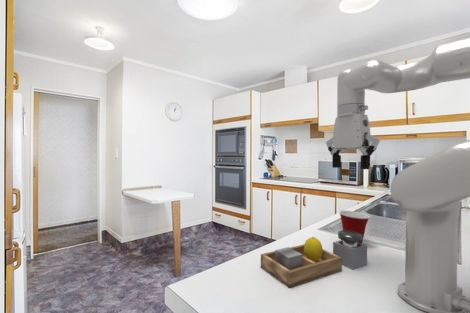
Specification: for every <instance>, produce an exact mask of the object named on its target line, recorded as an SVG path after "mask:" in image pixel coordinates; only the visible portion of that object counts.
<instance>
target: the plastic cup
mask: <svg viewBox="0 0 470 313" xmlns="http://www.w3.org/2000/svg"><path fill="white" fill-rule="evenodd" d="M338 213H339V215H340V220H341V221H340V222H341V226H342V230H349V231H355V232H358V233H360V234H362V241H361V242H358V243H361V244H363V240H364V237H365V233H366V228H367V225H368V221H369V219H371V216H370V215H368V214H366V213H363V212H358V211H352V210H339V211H338Z"/></svg>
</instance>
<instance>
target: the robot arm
mask: <svg viewBox="0 0 470 313" xmlns="http://www.w3.org/2000/svg"><path fill="white" fill-rule="evenodd" d="M467 79H470V36H468V37H465V38H461V39H460V38H459V39H456V40H451V41H447V42H443V43H440V44H438V45H437V46H436V47H434V49H433V51H432V52H431V54H430V55H428V56H427V57H425V58H423V59H421V60H419V61H416V62H411V63H407V64H404V65H403V64H402V65H398V66H394V65H391V64H390V63H387V62H384V61H383V60H381V59H380V60H379V59H372V60H368V61H366V62H363V63H362V64H359V65H358V66H356V67H354V68H348V69H344V70H343V71H341V72H340V73H338V75H337V94H336V95H337V96H336V97H337V99H336V100H337V101H336V103H337V104H336V106H337V107H336V112H337V113H336V117H335V119H334V125H333V131H332V134H333V135H332V137H331V138H330V139H328V140H326V142H325V144H326V147H327V150H328V152H330V155H331V156H332V163H331V164H332V168H333V169H334V168H341V167H342V165H341V164H342V156H341V153H342V151H343V150H359V151H360V152H361V154H362V155H360V169H361V170H370V166H371V156H372V155H373V153H374V152H375V151H376V150H377V147H379V146H378V145H379V144H380V142H381V140H380V138H378V137H375V136H374V135H371V127H370V126H371V125H370V120H369V117H368V114H365V112H366V111H368V110H369V105H367V104H366V102H365V101H366V100H365V98H366V94H365V92H366V91H365V90H368V91H375V92H378V93H381V94H396V93H404V92H410V91H416V90H419V89H420V90H421V89H425V88H428V87H432V86H435V85H437V84H441V83H446V82H454V81H460V80H467ZM389 187H390V188H389V191H390V195H391V197H392V200H393V201H394V202H395V203H396V204H397V206H399V207H401V208H402V209H405V210H406V211H407V212H406V220H405V261H404V262H405V263H404V267H405V268H404V271H405V272H404V274H405V275H404V282H401V283H399V284H398V285H397V294H398V295H399V296H400V297H401V299H402V300H403V301H405V302H406V303H408V304H409V305H411V306H413V307H415V308H416V309H419V310H421V311H424V312H426V313H467V312H468V313H470V298H468V297H466V296H465V295H464V294H463V288H462V287H460V286H458V241H459V217H460V209H461V203H462V200H464V199H468V198H470V139H467V140H464V141H460V142H456V143H455V144H452V145H449V146H447V147H446V148H443V149H442V150H440V151H438V152H437V151H436V152H435V153H433V154H432V155H429V156H428V157H426V158H423V159H422V160H419V161H417V162H416V163H414V164H412V165H410V166H408V167H405V168H404V169H402V170H400V171H398V173H397V174H396V175H394V177H393V178H392V181H391V183H390V186H389Z"/></svg>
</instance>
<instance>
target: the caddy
mask: <svg viewBox="0 0 470 313" xmlns="http://www.w3.org/2000/svg"><path fill="white" fill-rule="evenodd" d="M304 244H305V243H303V244H300V245H296V246H291V247H289V246H287V247H283V248H279V249H275V250H273V251H268V252H265V253H261V254H260V268H261V269H262V270H264V271H265V272H267V273H268V274H269V275H271V276H272V277H273V278H274V279H276V280H277V281H279V283H281V284H282V285H285V286H286V287H287V288H288V289H292V288H294V287H297V286H300V285H303V284H306V283H307V284H308V283H310V282H311V281H312V282H313V281H315V280H320V279H322V278H324V277H325V278H326V277H327V276H330V275H333V274H337V273H340V272H342V270H343V268H342V267H343V265H342V257H340V256H337V255H335V254H333V252H330V251H328V250H325V249H324V248H322V249H323V253H322V257H321V258H320V259H319V260H318V261H315V262H313V261H312V260H310V259H308V258H306V256H305V254H304Z"/></svg>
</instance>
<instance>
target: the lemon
mask: <svg viewBox="0 0 470 313" xmlns="http://www.w3.org/2000/svg"><path fill="white" fill-rule="evenodd" d="M303 244H304V254H305V256H306V258H308V259H310V260H312V261H313V262H315V261H318V260H319V259H320V258H321V257H322V253H323V249H324V248H323V244H322V243H321V241H320V240H319V239H318V238H316V237H315V236H312V237H309V238H307V239H306V240H305V241H304V243H303Z"/></svg>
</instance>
